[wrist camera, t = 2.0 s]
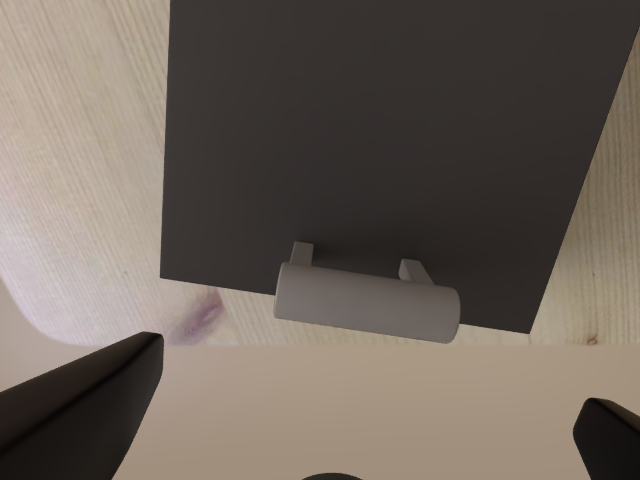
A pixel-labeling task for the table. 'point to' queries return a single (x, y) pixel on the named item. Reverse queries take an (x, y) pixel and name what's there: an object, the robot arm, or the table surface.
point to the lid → (384, 153)
